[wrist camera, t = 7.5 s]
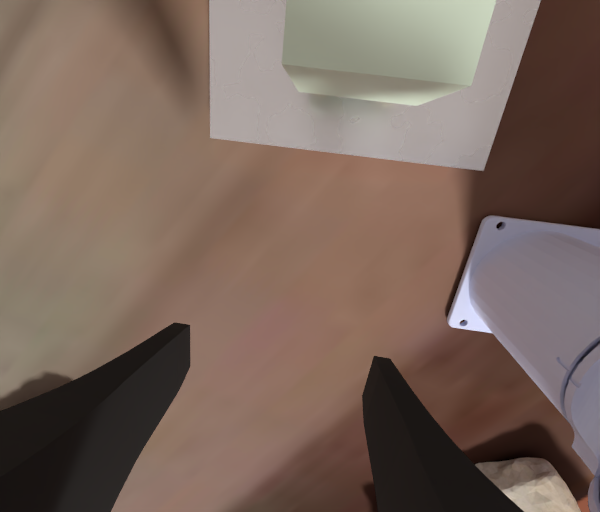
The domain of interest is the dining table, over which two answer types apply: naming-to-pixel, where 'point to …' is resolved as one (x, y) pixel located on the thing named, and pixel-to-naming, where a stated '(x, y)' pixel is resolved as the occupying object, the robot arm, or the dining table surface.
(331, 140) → the base plate
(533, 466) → the cream rock
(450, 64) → the block
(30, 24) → the dining table surface
